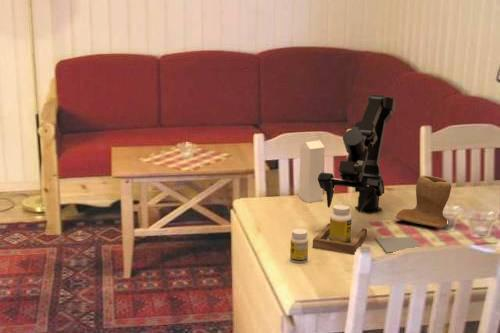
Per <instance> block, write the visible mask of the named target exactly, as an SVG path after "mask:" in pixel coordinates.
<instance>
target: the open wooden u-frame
mask: <svg viewBox="0 0 500 333" xmlns="http://www.w3.org/2000/svg"><path fill="white" fill-rule="evenodd" d="M329 235H330V222H328V223H327V224H326V225H325V227H323V228H322V229H321V230H320V231H319V232H318V234H317V235H316V236H315V237H313V239H312V248H313V249H318V250H324V251H330V252H335V253H337V252H338V253H342V254H343V253H344V254H348V255H349V254H350V255H354V254H355V253H356V252H357V250H358V249H359V248H360V247H361V245H362V244H363V243H364V242H365V240H366V239H367V238H368V228H365V227H364V228H363V227H362V228H361V230H360V231H359V232H358V233H357V234H356V235H355V236H354V238H353V239H352V240H351V242H350V243H344V242H338V241H332V240H329ZM359 246H360V247H359ZM358 247H359V248H358ZM357 248H358V249H357ZM356 249H357V250H356ZM355 251H356V252H355ZM354 252H355V253H354Z"/></svg>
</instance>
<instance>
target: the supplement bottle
mask: <svg viewBox="0 0 500 333" xmlns="http://www.w3.org/2000/svg"><path fill="white" fill-rule="evenodd" d="M291 235H292V236H291V237H290V256H289V258H290V261H291V262H293V263H296V264H302V263H303V264H304V263H306V262H308V252H309V251H308V250H309V238H308V231H307V230H306V229H303V228H294V229H292V232H291Z"/></svg>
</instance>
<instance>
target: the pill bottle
mask: <svg viewBox="0 0 500 333" xmlns="http://www.w3.org/2000/svg"><path fill="white" fill-rule="evenodd" d="M350 208H351V207H350V206H349V205H347V204H341V203H339V204H335V205H333V206H332V213H331V214H330V217H329V223H330V235H329V237H328V240H332V241H338V242H344V243H351V242H352V222H353V217H352V215H351V214H350V211H351V210H350Z"/></svg>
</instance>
